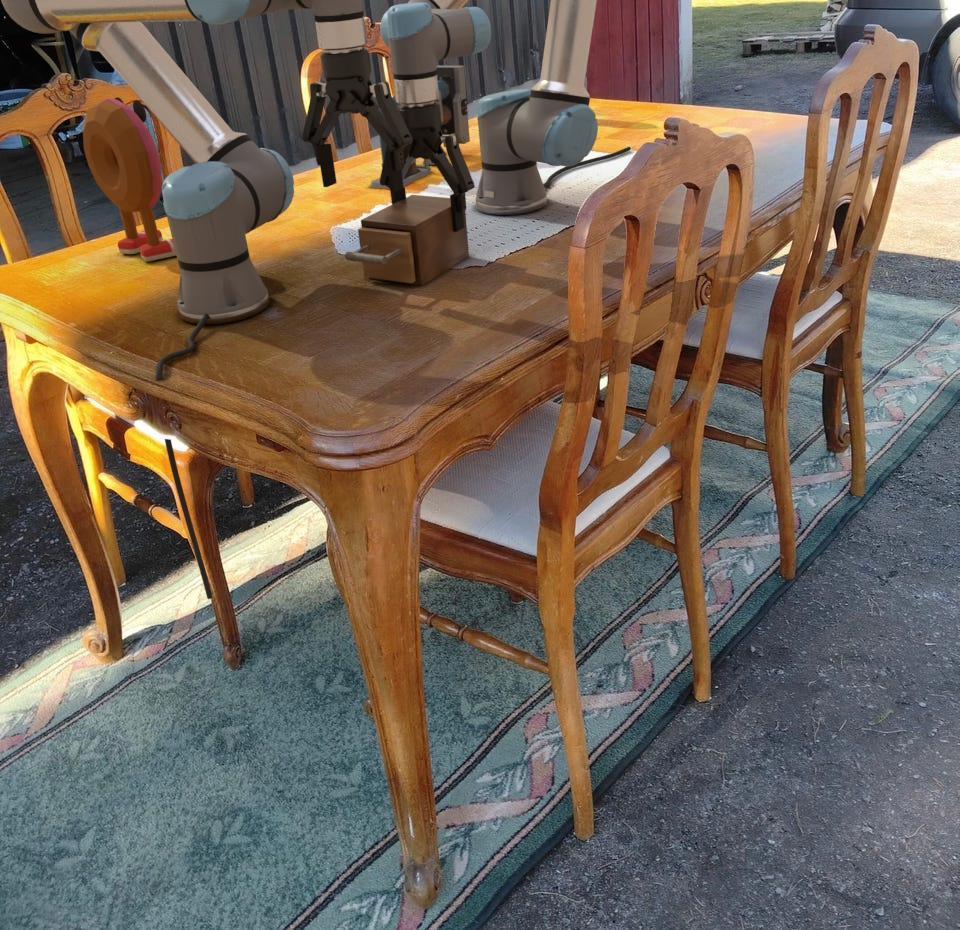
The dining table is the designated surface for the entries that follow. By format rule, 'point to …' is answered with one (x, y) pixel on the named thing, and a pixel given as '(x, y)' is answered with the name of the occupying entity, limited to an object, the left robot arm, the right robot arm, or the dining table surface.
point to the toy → (127, 172)
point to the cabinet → (425, 233)
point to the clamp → (451, 118)
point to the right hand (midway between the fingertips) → (430, 226)
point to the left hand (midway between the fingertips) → (363, 187)
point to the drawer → (385, 254)
